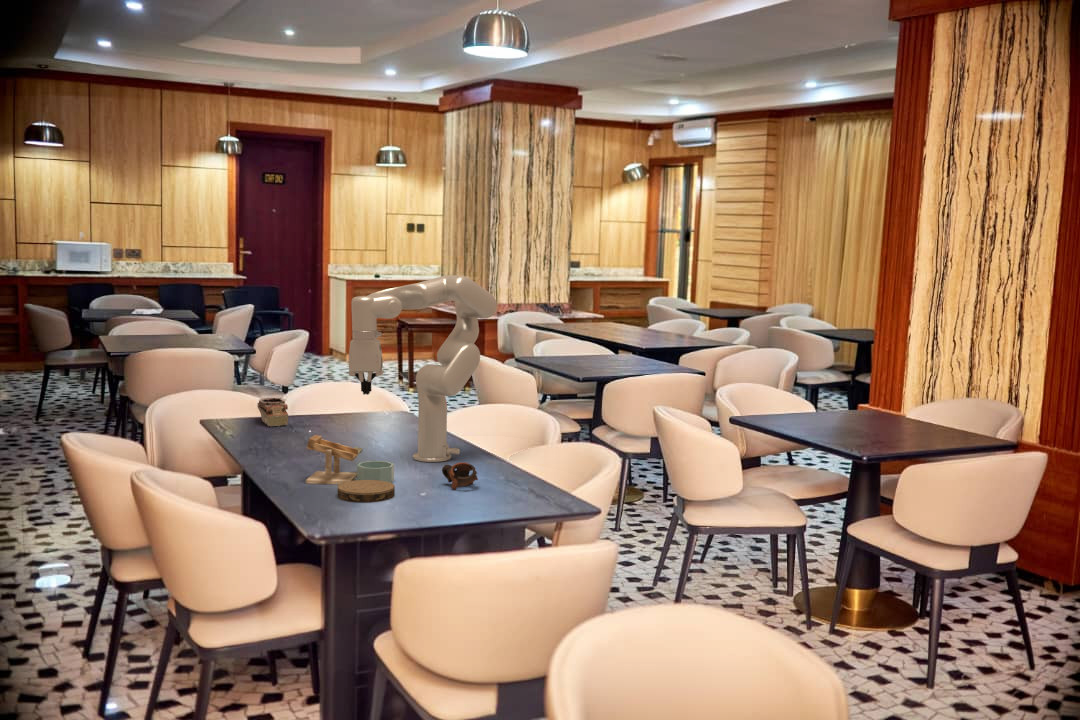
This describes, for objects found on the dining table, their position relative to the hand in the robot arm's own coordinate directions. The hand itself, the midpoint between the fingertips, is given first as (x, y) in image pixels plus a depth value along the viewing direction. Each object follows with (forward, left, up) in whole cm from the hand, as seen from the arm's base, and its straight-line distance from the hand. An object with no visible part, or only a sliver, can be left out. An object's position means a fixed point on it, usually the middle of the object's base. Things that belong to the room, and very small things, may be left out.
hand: (366, 393), depth 315 cm
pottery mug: (-32, +20, -24) cm, 45 cm away
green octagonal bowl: (-6, +16, -24) cm, 30 cm away
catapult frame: (+7, +16, -24) cm, 30 cm away
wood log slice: (-7, +34, -25) cm, 43 cm away
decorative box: (+54, -75, -24) cm, 96 cm away
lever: (+7, +13, -16) cm, 22 cm away
